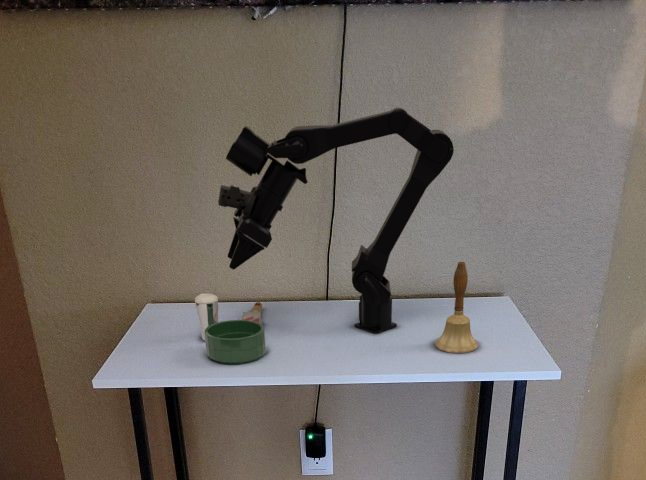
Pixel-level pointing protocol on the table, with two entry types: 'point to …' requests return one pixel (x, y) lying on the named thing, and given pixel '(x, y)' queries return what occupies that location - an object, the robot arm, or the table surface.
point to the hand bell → (458, 320)
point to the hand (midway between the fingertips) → (230, 263)
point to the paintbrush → (254, 313)
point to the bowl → (235, 341)
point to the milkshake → (207, 310)
